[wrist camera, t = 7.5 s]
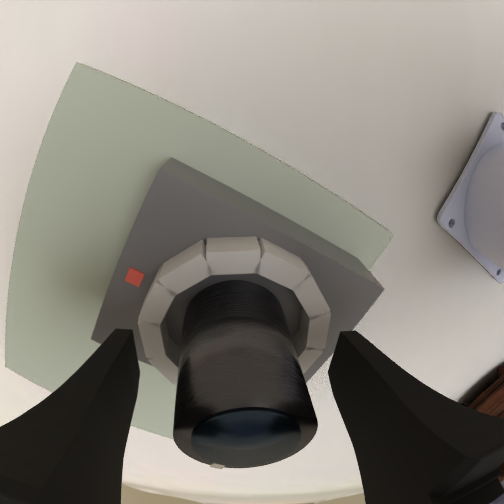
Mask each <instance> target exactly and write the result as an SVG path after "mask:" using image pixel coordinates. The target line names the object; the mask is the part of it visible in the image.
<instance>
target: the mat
mask: <svg viewBox="0 0 504 504" xmlns="http://www.w3.org/2000/svg"><path fill="white" fill-rule="evenodd" d="M171 157H172V158H174V159H176V160H178V161H180V162H182V163H184V164H186V165H188V166H190V167H192V168H194V169H196V170H198V171H200V172H202V173H204V174H206V175H208V176H210V177H212V178H214V179H215V180H217V181H219V182H221V183H223V184H225V185H227V186H229V187H231V188H233V189H235V190H236V191H238V192H240V193H242V194H244V195H246V196H248V197H250V198H251V199H253V200H255V201H257V202H259V203H261V204H263V205H264V206H266V207H268V208H270V209H272V210H274V211H275V212H277V213H279V214H281V215H283V216H285V217H286V218H288V219H290V220H292V221H294V222H295V223H297V224H299V225H301V226H302V227H304V228H306V229H308V230H310V231H311V232H313V233H315V234H317V235H318V236H320V237H322V238H324V239H325V240H327V241H329V242H331V243H332V244H334V245H336V246H338V247H339V248H341V249H343V250H344V251H346V252H348V253H350V254H351V255H353V256H355V257H356V258H358V259H359V260H360V261H361V262H362V263H363V265H364V266H365V267H366V268H367V269H368V270H370V269H371V267H372V266H373V264H374V263H375V261H376V260H377V259H378V257H379V256H380V254H381V253H382V251H383V250H384V249H385V247H386V246H387V244H388V243H389V241H390V240H391V238H392V237H393V234H392V233H391V232H389V231H388V230H387V229H385V228H384V227H382V226H381V225H380V224H378V223H377V222H375V221H374V220H372V219H371V218H369V217H368V216H366V215H365V214H364V213H362V212H361V211H359V210H358V209H356V208H355V207H353V206H352V205H350V204H349V203H347V202H346V201H344V200H343V199H341V198H339V197H338V196H336V195H335V194H333V193H332V192H330V191H329V190H327V189H325V188H324V187H322V186H321V185H319V184H317V183H316V182H314V181H313V180H311V179H309V178H308V177H306V176H305V175H303V174H301V173H300V172H298V171H296V170H295V169H293V168H291V167H290V166H288V165H286V164H285V163H283V162H281V161H280V160H278V159H276V158H274V157H273V156H271V155H269V154H267V153H266V152H264V151H262V150H260V149H259V148H257V147H255V146H253V145H252V144H250V143H248V142H246V141H244V140H243V139H241V138H239V137H237V136H235V135H233V134H232V133H230V132H228V131H226V130H224V129H222V128H220V127H218V126H216V125H215V124H213V123H211V122H209V121H207V120H205V119H203V118H201V117H199V116H197V115H195V114H193V113H191V112H189V111H187V110H185V109H183V108H181V107H179V106H177V105H175V104H173V103H171V102H168V101H166V100H164V99H162V98H160V97H158V96H156V95H154V94H151V93H149V92H147V91H145V90H143V89H140V88H138V87H136V86H134V85H131V84H129V83H127V82H124V81H122V80H120V79H117V78H115V77H113V76H110V75H108V74H105V73H103V72H101V71H98V70H96V69H93V68H91V67H88V66H86V65H83V64H80V63H77V62H76V64H75V66H74V68H73V70H72V72H71V74H70V76H69V78H68V80H67V82H66V84H65V87H64V89H63V91H62V93H61V95H60V98H59V100H58V102H57V105H56V107H55V109H54V112H53V114H52V117H51V119H50V122H49V125H48V127H47V130H46V133H45V135H44V138H43V141H42V144H41V147H40V149H39V152H38V156H37V159H36V162H35V165H34V168H33V171H32V175H31V178H30V182H29V185H28V189H27V193H26V197H25V201H24V205H23V209H22V213H21V218H20V222H19V227H18V232H17V237H16V242H15V248H14V254H13V260H12V267H11V274H10V282H9V291H8V301H7V314H6V333H5V367H7V368H9V369H10V370H12V371H14V372H15V373H17V374H19V375H21V376H22V377H24V378H26V379H28V380H30V381H31V382H33V383H35V384H37V385H39V386H41V387H43V388H45V389H47V390H49V391H51V392H54V391H55V390H56V389H58V388H59V387H60V386H61V385H62V384H63V383H64V382H65V381H66V380H67V379H68V378H69V377H70V376H72V375H73V374H74V373H75V372H76V371H77V370H78V369H79V368H80V367H81V366H82V365H83V364H84V362H85V361H86V360H87V359H88V358H89V357H90V356H91V355H92V354H93V353H94V352H95V351H96V350H97V348H98V347H99V346H100V345H101V344H100V343H97V342H95V341H93V340H91V336H92V333H93V330H94V327H95V324H96V321H97V318H98V315H99V312H100V309H101V306H102V303H103V301H104V298H105V295H106V292H107V289H108V287H109V284H110V281H111V279H112V276H113V273H114V271H115V268H116V265H117V263H118V260H119V258H120V255H121V253H122V250H123V248H124V245H125V243H126V241H127V238H128V236H129V233H130V231H131V229H132V226H133V224H134V222H135V220H136V217H137V215H138V213H139V211H140V208H141V206H142V204H143V202H144V200H145V197H146V195H147V193H148V191H149V189H150V187H151V185H152V182H153V180H154V178H155V176H156V174H157V172H158V170H159V169H160V168H161V167H162V166H163V165H164V164H165V163H166V162H167V161H168V160H169V159H170V158H171ZM138 363H139V368H140V379H139V387H138V395H137V400H136V404H135V408H134V413H133V417H132V421H131V426H133V427H136V428H139V429H142V430H145V431H148V432H151V433H154V434H158V435H161V436H164V437H167V438H171V439H174V438H173V424H174V411H175V399H176V388H177V385H176V386H174V385H173V384H172V383H171V382H170V381H169V380H168V379H167V378H166V377H165V376H163V375H162V374H161V373H160V372H159V371H158V370H157V369H156V368H155V367H154V366H151V365H149V364H146V363H144V362H141V361H139V360H138Z"/></svg>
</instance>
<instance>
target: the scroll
mask: <svg viewBox="0 0 504 504" xmlns="http://www.w3.org/2000/svg"><path fill="white" fill-rule="evenodd" d="M498 373H499V376H500V378H499V379H498V380H497V381H496V382H494V383H493V384H492V385H491V386H490V387H489V388H487V389H486V390H485V391H484V392H483V393H482V394H481V395H480V396H479V397H478V398H477V399H476V400H475V401H474V402H473V403H472V404H471V405H470V406H469V408H471V409H474V410H477V411H479V412H482V413H485V414H488V415H491V416H495V417H499V418H503V419H504V367H503V366H499V367H498ZM499 469H500V471H501V476H500V477H498V479H499V481H500V483H501V482H502V481H503V480H504V463H502V464H501V465H500V466H499Z"/></svg>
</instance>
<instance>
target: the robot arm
mask: <svg viewBox="0 0 504 504" xmlns="http://www.w3.org/2000/svg"><path fill="white" fill-rule="evenodd" d="M450 220H451V222H450V224H449V225H448V223H449V221H450ZM437 222H438V223H439V225H440V226H442V227H443V228H444V229H445V230H446V231H447V232H448V233H449V234H450V235H451V236H452V237H454V238H455V239H456V240H457V241H458V242H459V243H460V244H461V245H462V246H463V247H464V248H465V249H466V250H467V251H468V252H469V253H470V254H471V255H472V256H473V257H474V258H475V259H476V260H477V261H478V262H479V263H480V264H481V265H482V266H483V267H484V268H485V269H486V270H487V271H488V272H489V273H490V274H491V275H492V276H493V277H494V278H495V279H496V280H497V281H498V282H499V283H503V282H504V117H503V116H502V115H501V114H500V113H498V112H494V113H492V115H491V117H490V119H489V121H488V123H487V125H486V127H485V129H484V132H483V134H482V136H481V138H480V140H479V142H478V144H477V146H476V148H475V149H474V151H473V153H472V155H471V157H470V159H469V161H468V163H467V165H466V166H465V168H464V170H463V172H462V174H461V175H460V177H459V179H458V181H457V183H456V184H455V186H454V188H453V190H452V191H451V193H450V195H449V196H448V198H447V200H446V201H445V203H444V205H443V206H442V208H441V210H440V211H439V213H438V215H437ZM328 375H329V379H330V384H331V388H332V392H333V395H334V398H335V401H336V403H337V406H338V408H339V411H340V414H341V416H342V419H343V421H344V424H345V426H346V429H347V431H348V434H349V436H350V439H351V441H352V444H353V447H354V450H355V454H356V458H357V462H358V466H359V470H360V475H361V480H362V485H363V490H364V495H365V502H366V504H504V480H503V481H502V482H501V483H500V481H499V479H498V477H500V476H501V471H500V469H499V466H500V465H501V464H502V463H504V419H503V418H499V417H495V416H491V415H488V414H485V413H482V412H479V411H477V410H474V409H471V408H469V407H466V406H464V405H462V404H460V403H458V402H455V401H453V400H451V399H449V398H447V397H445V396H444V395H442V394H440V393H438V392H436V391H435V390H433V389H431V388H430V387H428V386H426V385H425V384H423V383H422V382H420V381H419V380H417V379H416V378H415V377H413V376H412V375H410V374H409V373H408V372H406V371H405V370H404V369H402V368H401V367H400V366H398V365H397V364H396V363H395V362H393V361H392V360H391V359H390V358H388V357H387V356H386V355H385V354H384V353H382V352H381V351H380V350H379V349H378V348H376V347H375V346H374V345H373V344H372V343H370V342H369V341H368V340H367V339H366V338H364V337H363V336H362V335H361V334H359V333H358V332H357V331H340V334H339V337H338V340H337V344H336V347H335V351H334V354H333V357H332V360H331V363H330V367H329V370H328ZM139 379H140V368H139V363H138V357H137V352H136V346H135V340H134V334H133V330H132V329H118V328H116V329H115V330H114V331H113V332H112V333H111V334H110V335H109V336H108V337H107V338H106V340H105V341H104V342H103V343H102V344H101V345H100V346H99V347H98V348H97V350H96V351H95V352H94V353H93V354H92V355H91V356H90V357H89V358H88V359H87V360H86V361H85V362H84V364H83V365H82V366H81V367H80V368H79V369H78V370H77V371H76V372H75V373H74V374H73V375H72V376H70V377H69V378H68V379H67V380H66V381H65V382H64V383H63V384H62V385H61V386H60V387H59V388H58V389H56V390H55V391H54V392H53V393H52V394H50V395H49V396H48V397H47V398H45V399H44V400H43V401H41V402H40V403H39V404H37V405H36V406H34V407H33V408H31V409H30V410H28V411H27V412H25V413H24V414H22V415H21V416H19V417H17V418H16V419H14V420H12V421H10V422H9V423H7V424H5V425H3V426H1V427H0V504H121V483H122V469H123V458H124V452H125V447H126V442H127V438H128V433H129V429H130V425H131V421H132V417H133V413H134V408H135V404H136V400H137V395H138V387H139Z"/></svg>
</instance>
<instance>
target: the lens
mask: <svg viewBox="0 0 504 504" xmlns="http://www.w3.org/2000/svg"><path fill="white" fill-rule="evenodd" d="M317 427H318V422H317V418H316V414H315V411H314V408H313V405H312V401H311V398H310V395H309V392H308V388H307V385H306V382H305V379H304V376H303V372H302V369H301V366H300V363H299V360H298V356H297V353H296V350H295V347H294V344H293V341H292V337H291V334H290V331H289V328H288V325H287V322H286V318H285V315H284V312H283V309H282V306H281V304H280V302H279V300H278V299H277V298H276V297H275V295H274V294H273V293H271V292H270V291H269V290H268V289H266V288H264V287H263V286H261V285H258V284H256V283H253V282H249V281H243V280H228V281H222V282H218V283H215V284H212V285H210V286H208V287H206V288H204V289H203V290H201V291H200V292H199V293H197V294H196V295H195V296H194V297H193V298H192V300H191V301H190V303H189V304H188V306H187V308H186V311H185V314H184V322H183V330H182V339H181V348H180V357H179V367H178V377H177V388H176V399H175V411H174V424H173V438H174V441H175V443H176V445H177V446H178V448H179V449H180V450H181V451H182V452H183V453H185V454H186V455H188V456H189V457H191V458H193V459H195V460H197V461H200V462H202V463H205V464H209V465H210V467H214V468H219V469H222V468H223V467H226V468H250V467H257V466H263V465H267V464H271V463H275V462H278V461H281V460H283V459H286V458H288V457H290V456H292V455H294V454H295V453H297V452H299V451H300V450H301V449H303V448H304V447H305V446H306V445H307V444H308V443H309V442H310V441H311V440H312V439H313V437H314V436H315V434H316V431H317Z"/></svg>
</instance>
